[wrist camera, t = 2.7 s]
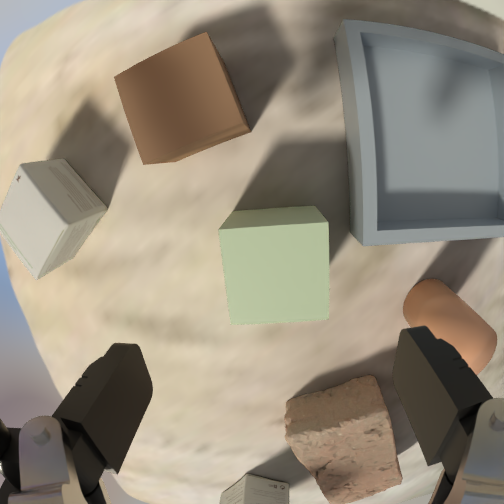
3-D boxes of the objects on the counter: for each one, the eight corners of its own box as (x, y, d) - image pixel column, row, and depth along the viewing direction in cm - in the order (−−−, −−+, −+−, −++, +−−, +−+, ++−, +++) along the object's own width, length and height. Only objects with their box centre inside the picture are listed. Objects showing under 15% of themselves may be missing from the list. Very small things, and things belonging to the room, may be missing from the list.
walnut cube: (223, 61, 16) (206, 31, 11) (251, 131, 17) (242, 122, 12) (151, 93, 17) (113, 77, 12) (175, 161, 18) (143, 164, 13)
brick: (279, 399, 23) (279, 442, 19) (374, 367, 22) (390, 407, 17) (328, 477, 28) (331, 508, 23) (395, 455, 26) (404, 485, 21)
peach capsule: (451, 276, 19) (504, 321, 12) (442, 322, 20) (485, 375, 13) (406, 281, 19) (453, 333, 12) (399, 329, 20) (435, 389, 14)
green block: (314, 205, 18) (328, 222, 13) (316, 281, 20) (328, 319, 15) (232, 210, 19) (218, 229, 14) (241, 285, 20) (230, 324, 15)
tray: (487, 64, 13) (510, 57, 11) (496, 225, 17) (520, 236, 14) (333, 38, 15) (343, 19, 12) (349, 232, 18) (362, 246, 15)
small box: (33, 211, 20) (-8, 225, 15) (65, 155, 18) (19, 160, 13) (74, 260, 21) (35, 285, 16) (110, 207, 19) (69, 223, 14)
